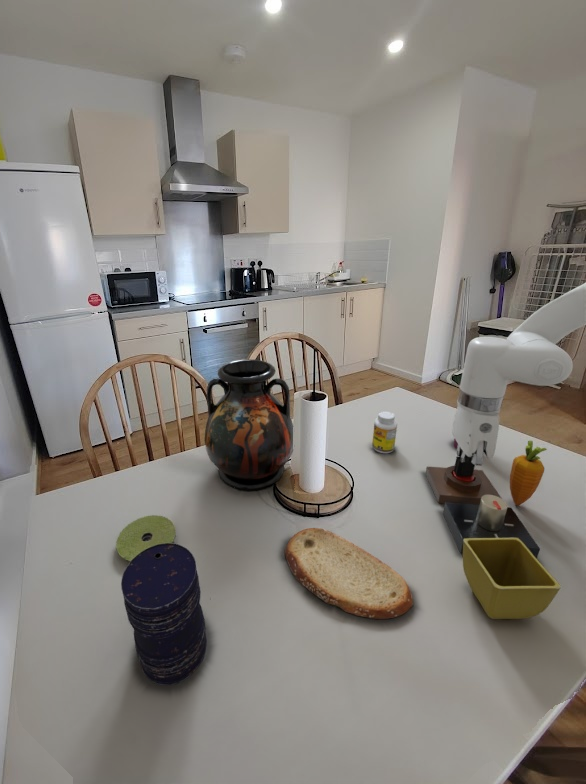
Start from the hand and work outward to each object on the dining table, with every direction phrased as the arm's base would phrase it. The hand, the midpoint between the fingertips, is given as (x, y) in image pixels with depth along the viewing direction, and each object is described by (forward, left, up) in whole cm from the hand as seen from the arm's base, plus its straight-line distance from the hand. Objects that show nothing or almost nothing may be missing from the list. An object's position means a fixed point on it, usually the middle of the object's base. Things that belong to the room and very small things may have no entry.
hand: (462, 474), depth 78 cm
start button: (0, 0, -2) cm, 2 cm away
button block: (0, 0, -4) cm, 4 cm away
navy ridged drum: (+52, +41, -4) cm, 66 cm away
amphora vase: (+47, 0, -4) cm, 48 cm away
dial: (0, +13, -1) cm, 13 cm away
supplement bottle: (+14, -15, -4) cm, 21 cm away
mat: (+64, +24, -4) cm, 68 cm away
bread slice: (+27, +25, -4) cm, 37 cm away
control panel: (0, +13, -4) cm, 14 cm away
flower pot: (+4, +27, -4) cm, 28 cm away
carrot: (-10, +4, -4) cm, 11 cm away
